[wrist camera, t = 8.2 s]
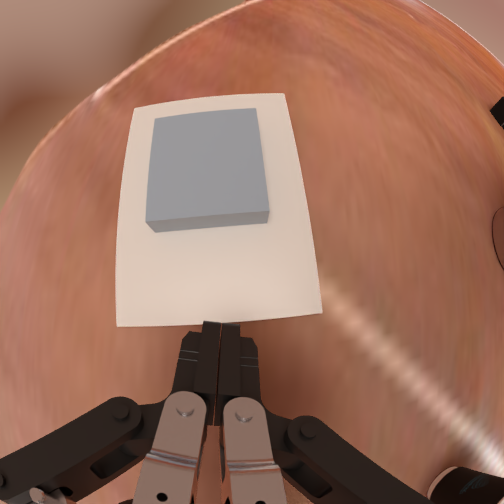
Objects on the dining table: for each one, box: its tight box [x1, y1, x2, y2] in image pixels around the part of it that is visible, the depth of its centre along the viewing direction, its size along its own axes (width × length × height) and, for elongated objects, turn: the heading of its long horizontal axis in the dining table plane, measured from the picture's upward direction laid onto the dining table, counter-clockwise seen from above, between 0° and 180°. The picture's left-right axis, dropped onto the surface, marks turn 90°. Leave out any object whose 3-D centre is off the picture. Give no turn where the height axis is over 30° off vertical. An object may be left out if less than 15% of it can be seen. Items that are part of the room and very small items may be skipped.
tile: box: [145, 108, 270, 233], centre depth 22 cm, size 2×9×10 cm
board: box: [116, 93, 322, 327], centre depth 23 cm, size 22×16×1 cm
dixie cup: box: [427, 466, 504, 504], centre depth 11 cm, size 8×8×11 cm
